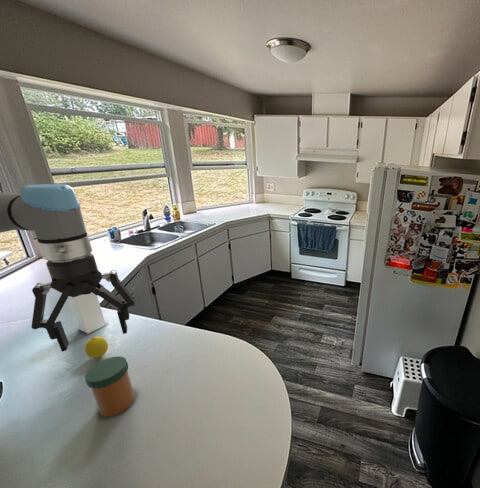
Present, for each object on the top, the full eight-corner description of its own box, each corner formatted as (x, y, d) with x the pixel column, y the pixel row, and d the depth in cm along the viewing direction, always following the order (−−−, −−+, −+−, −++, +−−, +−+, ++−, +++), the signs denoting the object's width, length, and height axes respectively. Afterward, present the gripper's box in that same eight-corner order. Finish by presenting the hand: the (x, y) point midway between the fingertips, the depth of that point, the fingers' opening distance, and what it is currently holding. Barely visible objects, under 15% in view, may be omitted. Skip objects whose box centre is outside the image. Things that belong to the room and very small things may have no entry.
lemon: (93, 353, 86) (86, 334, 83) (113, 349, 88) (107, 330, 85) (85, 365, 81) (78, 345, 78) (106, 360, 83) (100, 341, 80)
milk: (97, 321, 102) (82, 272, 95) (106, 325, 100) (91, 275, 93) (78, 329, 97) (61, 278, 90) (87, 334, 94) (70, 282, 87)
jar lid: (84, 394, 60) (81, 387, 60) (89, 371, 67) (87, 364, 66) (127, 378, 65) (126, 372, 64) (128, 358, 71) (127, 351, 71)
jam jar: (98, 422, 64) (84, 387, 60) (101, 399, 70) (89, 366, 66) (134, 406, 68) (124, 372, 64) (134, 386, 74) (125, 354, 70)
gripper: (-22, 275, 45) (22, 369, 53) (134, 252, 58) (152, 330, 65) (-4, 261, 51) (34, 347, 58) (135, 243, 64) (151, 316, 71)
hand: (96, 338), depth 62 cm, fingers open, 10 cm apart
